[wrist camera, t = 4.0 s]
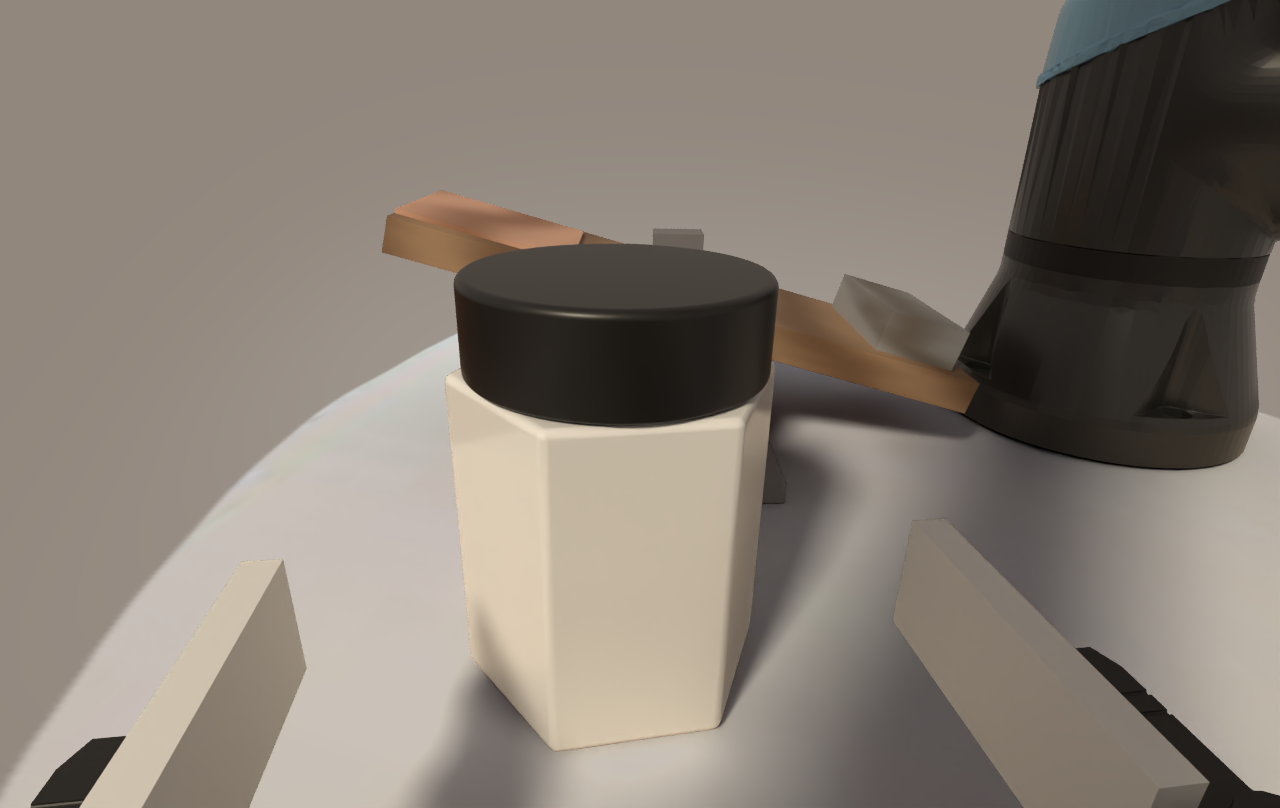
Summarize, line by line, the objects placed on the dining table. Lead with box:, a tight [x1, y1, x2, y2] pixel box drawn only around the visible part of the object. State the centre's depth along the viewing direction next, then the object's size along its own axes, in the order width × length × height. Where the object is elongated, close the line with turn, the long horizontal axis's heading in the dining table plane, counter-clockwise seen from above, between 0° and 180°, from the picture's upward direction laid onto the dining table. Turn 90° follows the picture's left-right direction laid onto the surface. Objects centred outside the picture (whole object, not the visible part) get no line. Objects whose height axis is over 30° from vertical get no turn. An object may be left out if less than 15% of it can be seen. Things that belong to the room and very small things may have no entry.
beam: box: [382, 190, 979, 414], centre depth 36 cm, size 28×13×4 cm, turn 90°
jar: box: [445, 244, 779, 751], centre depth 20 cm, size 9×8×12 cm
